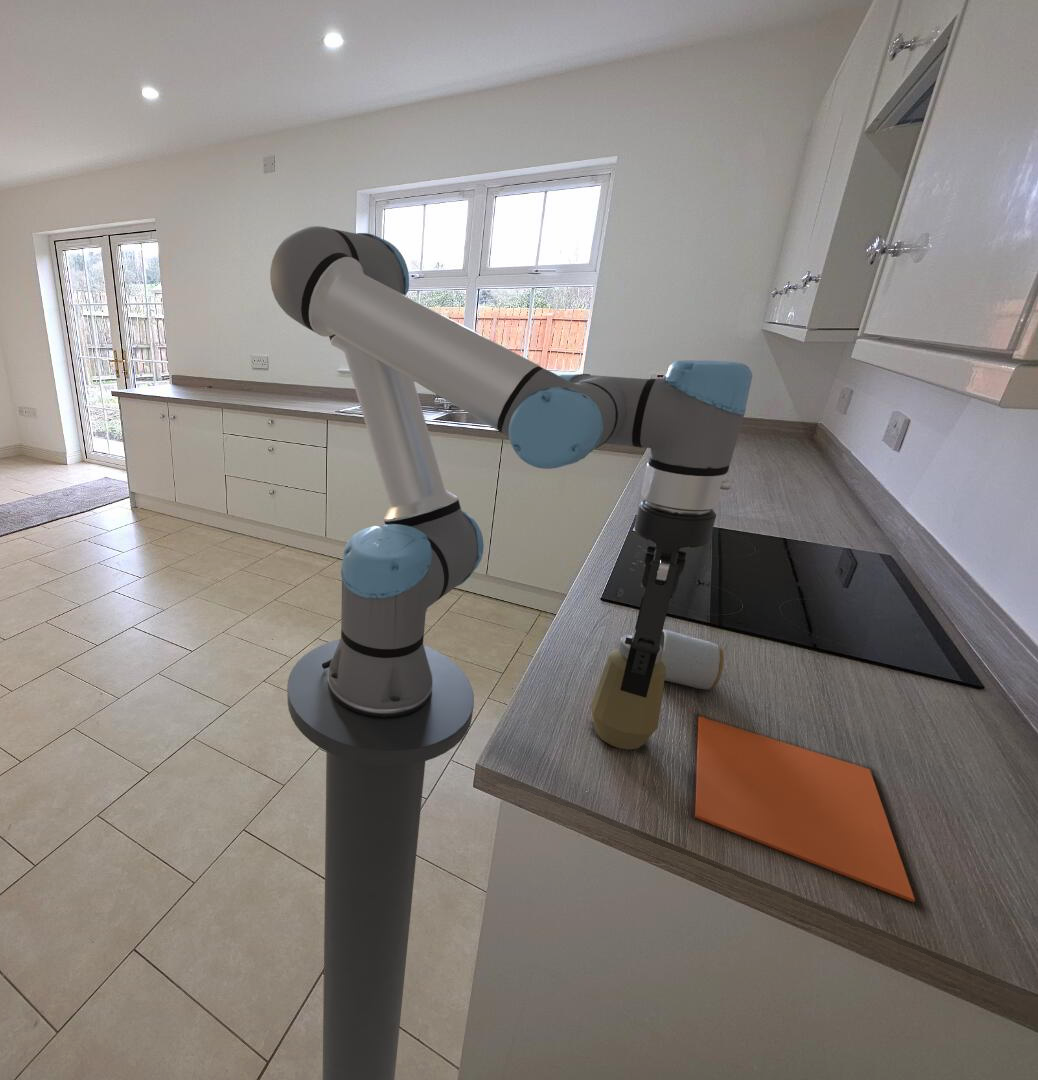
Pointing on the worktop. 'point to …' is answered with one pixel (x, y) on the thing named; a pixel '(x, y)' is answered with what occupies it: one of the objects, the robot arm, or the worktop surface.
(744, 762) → the napkin
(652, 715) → the squeeze bottle
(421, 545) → the robot arm
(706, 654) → the ceramic mug
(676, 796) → the worktop surface
